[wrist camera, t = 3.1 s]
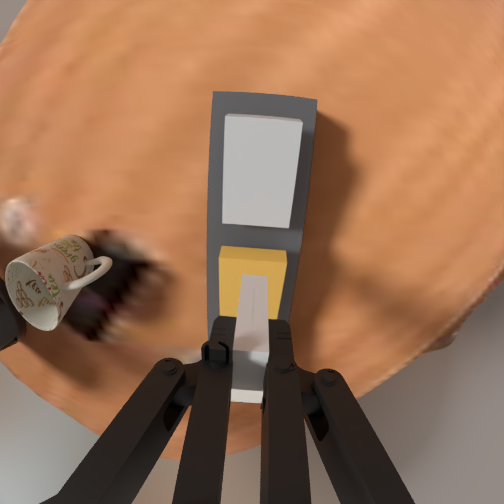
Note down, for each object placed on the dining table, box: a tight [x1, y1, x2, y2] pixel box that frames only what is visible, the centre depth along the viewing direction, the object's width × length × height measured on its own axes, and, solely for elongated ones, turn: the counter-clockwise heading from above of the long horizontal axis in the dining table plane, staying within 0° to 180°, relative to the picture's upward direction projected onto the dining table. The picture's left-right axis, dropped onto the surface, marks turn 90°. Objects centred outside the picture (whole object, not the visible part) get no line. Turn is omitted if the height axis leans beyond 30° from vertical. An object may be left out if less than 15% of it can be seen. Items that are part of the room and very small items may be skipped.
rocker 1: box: [222, 114, 303, 228], centre depth 19 cm, size 5×8×2 cm, turn 176°
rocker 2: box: [219, 246, 287, 319], centre depth 23 cm, size 5×8×2 cm, turn 176°
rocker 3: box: [231, 389, 263, 403], centre depth 27 cm, size 5×8×2 cm, turn 176°
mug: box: [5, 235, 112, 331], centre depth 25 cm, size 8×13×10 cm, turn 102°
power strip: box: [207, 92, 317, 403], centre depth 28 cm, size 8×38×5 cm, turn 176°
